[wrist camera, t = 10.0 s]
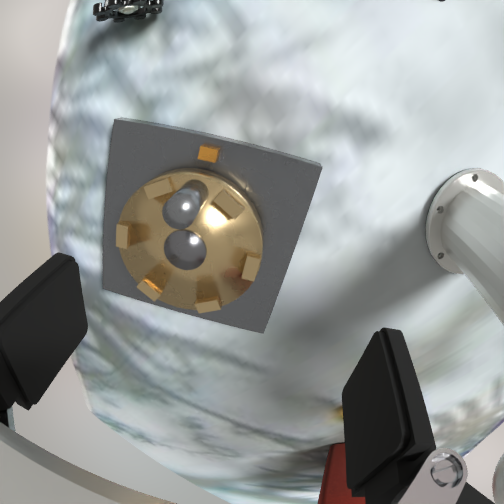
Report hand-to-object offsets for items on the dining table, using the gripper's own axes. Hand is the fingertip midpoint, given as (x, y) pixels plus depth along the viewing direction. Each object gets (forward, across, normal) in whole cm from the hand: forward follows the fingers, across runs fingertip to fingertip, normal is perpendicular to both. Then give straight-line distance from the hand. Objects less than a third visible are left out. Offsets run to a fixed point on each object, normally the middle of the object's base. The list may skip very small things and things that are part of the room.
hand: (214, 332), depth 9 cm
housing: (+23, +6, +8) cm, 25 cm away
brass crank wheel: (+21, +6, +8) cm, 23 cm away
